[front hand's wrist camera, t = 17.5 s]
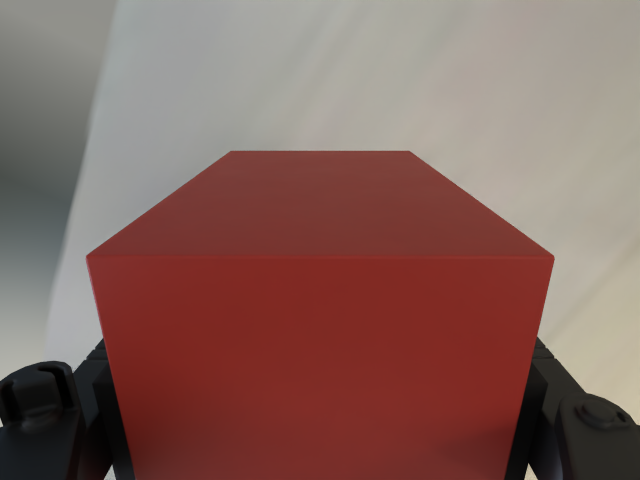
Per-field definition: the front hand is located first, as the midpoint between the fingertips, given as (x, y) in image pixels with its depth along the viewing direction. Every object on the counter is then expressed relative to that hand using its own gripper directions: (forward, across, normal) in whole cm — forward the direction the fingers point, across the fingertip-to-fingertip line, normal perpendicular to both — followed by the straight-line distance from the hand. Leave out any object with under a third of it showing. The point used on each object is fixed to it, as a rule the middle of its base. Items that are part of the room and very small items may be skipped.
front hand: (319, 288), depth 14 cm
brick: (+4, 0, 0) cm, 4 cm away
